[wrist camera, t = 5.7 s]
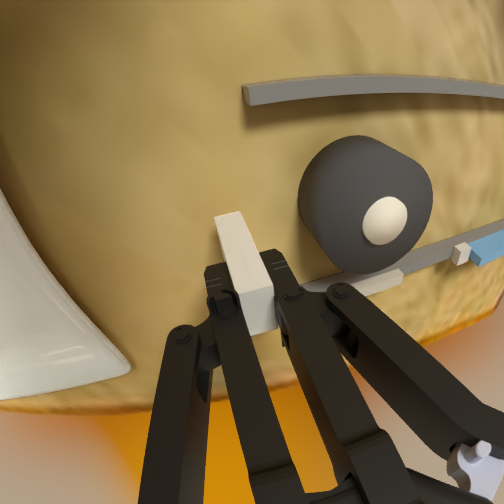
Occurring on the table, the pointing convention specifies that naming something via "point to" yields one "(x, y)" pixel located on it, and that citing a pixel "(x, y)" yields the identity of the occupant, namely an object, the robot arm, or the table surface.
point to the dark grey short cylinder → (364, 203)
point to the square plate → (44, 325)
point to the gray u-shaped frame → (458, 247)
